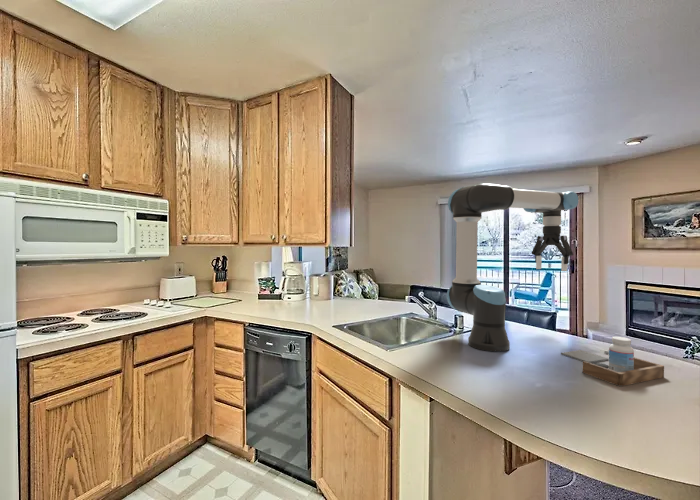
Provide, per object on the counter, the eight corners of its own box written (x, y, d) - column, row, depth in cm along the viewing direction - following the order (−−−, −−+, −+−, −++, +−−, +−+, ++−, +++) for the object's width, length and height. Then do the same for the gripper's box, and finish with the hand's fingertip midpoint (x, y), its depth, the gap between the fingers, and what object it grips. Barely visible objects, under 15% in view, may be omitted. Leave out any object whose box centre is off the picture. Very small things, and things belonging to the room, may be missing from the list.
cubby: (620, 386, 97) (620, 374, 97) (582, 372, 107) (582, 361, 107) (663, 377, 104) (664, 365, 104) (624, 365, 114) (624, 354, 114)
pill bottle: (635, 379, 102) (636, 342, 102) (609, 375, 105) (610, 339, 105) (631, 373, 107) (632, 337, 107) (607, 369, 110) (608, 334, 110)
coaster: (588, 363, 115) (588, 361, 115) (561, 354, 125) (561, 352, 125) (608, 360, 119) (608, 358, 119) (580, 351, 128) (580, 349, 128)
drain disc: (604, 368, 111) (604, 368, 111) (591, 364, 115) (591, 363, 115) (612, 367, 112) (612, 366, 112) (599, 363, 116) (599, 362, 116)
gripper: (583, 224, 153) (582, 271, 153) (535, 227, 176) (534, 267, 176) (571, 224, 150) (570, 272, 150) (524, 226, 173) (523, 268, 174)
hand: (550, 270), depth 163 cm, fingers open, 13 cm apart
